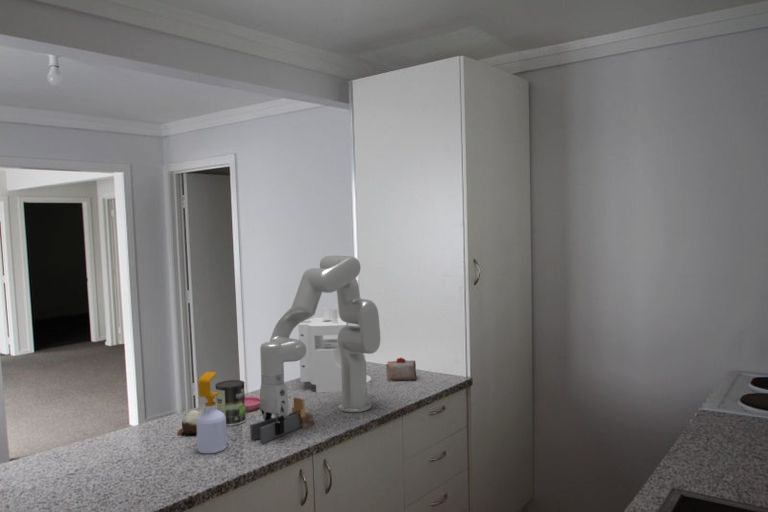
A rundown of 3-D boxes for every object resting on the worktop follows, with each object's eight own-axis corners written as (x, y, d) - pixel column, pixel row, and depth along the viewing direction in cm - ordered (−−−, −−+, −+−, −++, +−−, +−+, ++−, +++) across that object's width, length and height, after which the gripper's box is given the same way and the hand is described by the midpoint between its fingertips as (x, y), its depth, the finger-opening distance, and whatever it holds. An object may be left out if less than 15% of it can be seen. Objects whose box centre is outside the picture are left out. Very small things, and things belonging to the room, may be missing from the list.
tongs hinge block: (305, 421, 217) (305, 412, 217) (313, 424, 214) (313, 414, 214) (294, 425, 213) (294, 415, 213) (303, 428, 211) (302, 418, 210)
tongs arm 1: (295, 425, 212) (295, 411, 212) (297, 426, 212) (296, 412, 211) (250, 439, 200) (250, 424, 200) (252, 440, 200) (251, 425, 199)
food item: (385, 382, 269) (385, 360, 268) (386, 377, 277) (386, 356, 276) (416, 381, 268) (415, 359, 268) (416, 377, 276) (416, 355, 275)
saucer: (267, 409, 235) (267, 401, 234) (236, 415, 228) (236, 407, 227) (254, 402, 245) (254, 394, 245) (225, 408, 238) (224, 400, 238)
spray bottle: (232, 445, 196) (229, 370, 195) (216, 455, 188) (212, 377, 186) (209, 442, 199) (205, 369, 198) (191, 452, 191) (188, 376, 189)
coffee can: (250, 417, 224) (249, 380, 224) (238, 426, 214) (236, 387, 214) (225, 416, 226) (223, 379, 226) (211, 425, 216) (210, 386, 216)
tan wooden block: (296, 413, 214) (295, 397, 214) (305, 416, 211) (304, 399, 211) (292, 415, 213) (291, 398, 212) (300, 417, 210) (300, 400, 209)
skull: (188, 421, 219) (204, 402, 216) (207, 442, 216) (223, 423, 214) (167, 431, 207) (183, 411, 205) (186, 454, 205) (203, 433, 203)
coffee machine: (305, 379, 278) (301, 304, 277) (370, 376, 279) (367, 301, 277) (299, 394, 254) (295, 312, 253) (371, 390, 255) (367, 308, 253)
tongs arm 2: (298, 426, 211) (297, 412, 211) (300, 427, 211) (299, 413, 211) (260, 442, 197) (259, 427, 196) (262, 443, 196) (262, 428, 196)
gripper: (298, 380, 200) (299, 434, 201) (265, 373, 211) (267, 424, 212) (280, 385, 195) (282, 440, 195) (248, 377, 206) (249, 430, 206)
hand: (274, 431), depth 204 cm, fingers open, 5 cm apart
